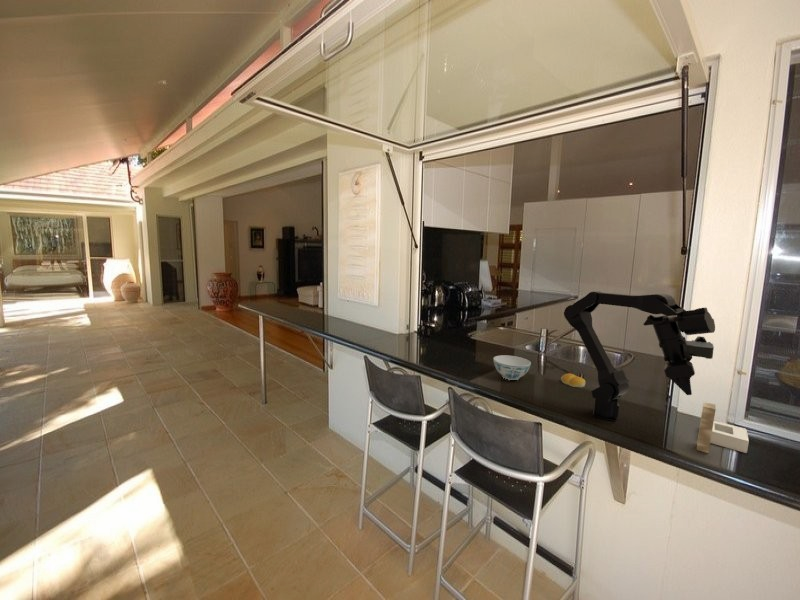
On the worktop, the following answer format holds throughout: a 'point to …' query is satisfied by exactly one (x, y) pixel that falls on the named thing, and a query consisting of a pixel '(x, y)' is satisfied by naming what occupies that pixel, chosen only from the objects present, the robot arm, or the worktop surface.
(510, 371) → the chinaware
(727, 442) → the end cap
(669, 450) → the worktop surface
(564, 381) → the bread roll
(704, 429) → the slat
